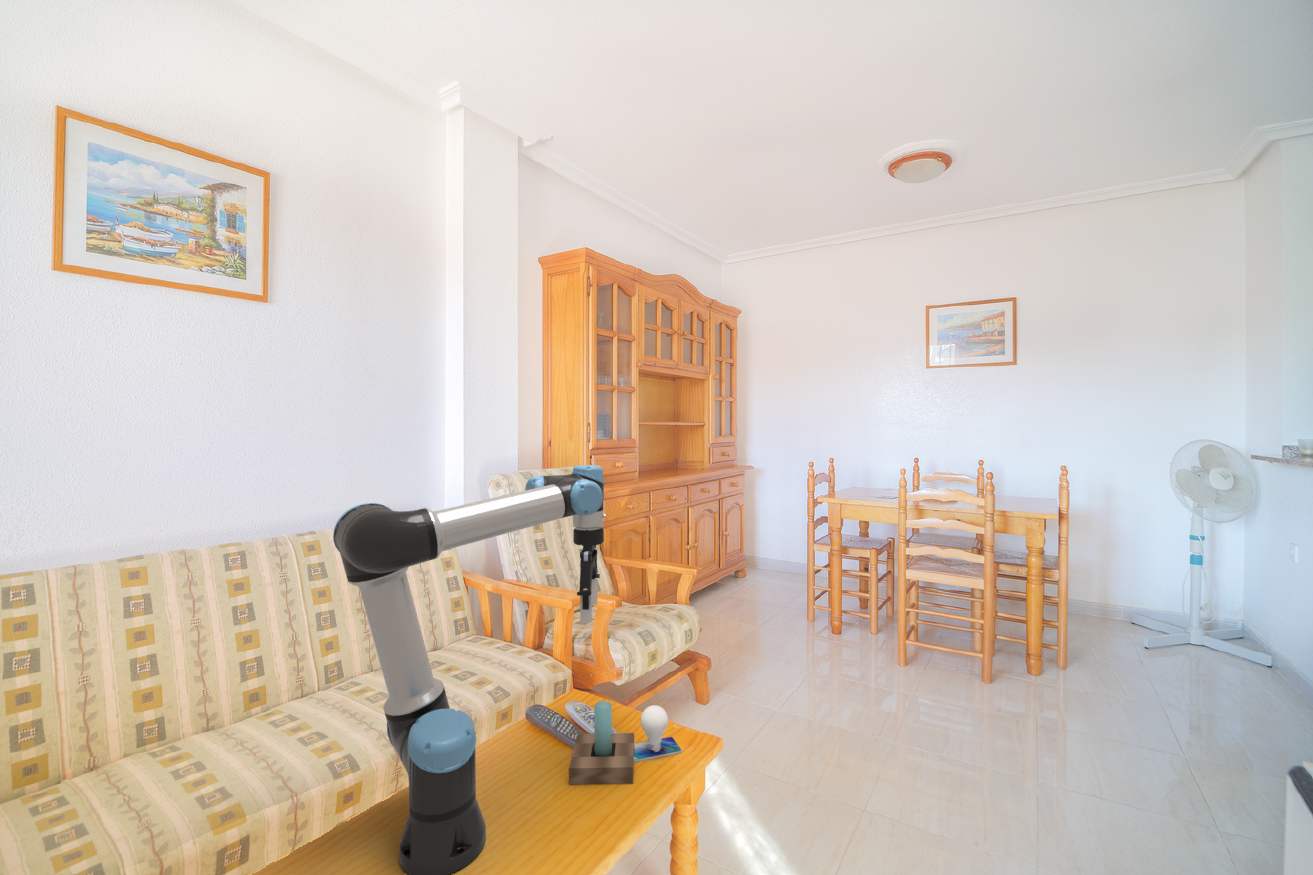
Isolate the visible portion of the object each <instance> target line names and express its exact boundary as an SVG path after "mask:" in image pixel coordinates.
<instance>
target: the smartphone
mask: <svg viewBox="0 0 1313 875" xmlns="http://www.w3.org/2000/svg"><path fill="white" fill-rule="evenodd" d="M660 744H661V749H660V751H658V752H656V753H654V752H651V751H650V750H649V742H648V740H646V741H642V742H636V743H635V742H634V764H636V763H640V762H644V761H650V760H654V759H659V758H663V757H668V756H674V755H679V754H681V753H682V748H681V747H680V745H679V744H678V743H677V741H676V740H675V738H674V737H673V736H667V737H663V738H662V740H661V743H660Z"/></svg>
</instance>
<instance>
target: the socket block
mask: <svg viewBox="0 0 1313 875" xmlns="http://www.w3.org/2000/svg"><path fill="white" fill-rule="evenodd" d="M634 744H635V733H634V732H619V733H618V732H615V733H614V732H612V756H606V757H595V733H577V734H576V737H575V741H574V746H573V750H572V753H571V754H572V755H571V759H570V763H569V768H568V770H569V772H568V777H569V778H568V782H569V783H568V785H615V784H616V785H617V784H618V785H620V784H621V785H623V784H634V764H635V763H634Z"/></svg>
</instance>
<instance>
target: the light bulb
mask: <svg viewBox="0 0 1313 875" xmlns="http://www.w3.org/2000/svg"><path fill="white" fill-rule="evenodd" d="M640 725H641V727H642V730H643V731H644V733H645V736H646V737H647V741H648V742H649V750H650V751H651V752H654V753H656V752H658V751H660V749H661V744H660V743H661V740H662V737H663V735H664V733H665V731H666V730H667V728H668V725H669V717H668V714H667V712H666V710H665V709H664V708H663V707H661V706H659V705H658V704H655V705H654V704H653V705H649V706H647V707H646V708H644V710H643V712H642V714H641V717H640Z"/></svg>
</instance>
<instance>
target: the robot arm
mask: <svg viewBox="0 0 1313 875" xmlns="http://www.w3.org/2000/svg"><path fill="white" fill-rule="evenodd" d="M604 481H605V480H604V471H603V467H602V466H601V465H598V464H597V465H596V464H595V465H593V464H585V465H584V464H583V465H581V464H580V465H574V466H573V468H572V472H571V474H570V473H569V474H559V475H558V474H557V475H556V474H555V475H538V476H533V477H530V478H528V480H527V481H526V485H525V488H524V490H523V491H517V492H513V493H509V494H505V495H500V496H495V497H491V498H488V499H482V500H478V501H474V502H471V503H465V504H462V505H458V506H457V505H456V506H453V507H449V508H444V509H440V510H436V511H433V510H431V509H430V508H427V507H424V508H419V509H415V510H407V511H405V510H403V511H402V510H401V511H399V510H392V508H390V507H389V506H387V505H384V504H383V503H377V502H373V503H372V502H371V503H370V502H369V503H368V502H367V503H360V504H357V505H354V506H352V507H351V508H348V509H347V510H346V511H345V512H344V513H343V514H341V516H339V518H338V520H337V521H336V523H335V526H334V529H333V532H332V533H333V535H332V536H333V537H332V538H333V544H334V547H335V549H337V551H338V552H339V555H340V557H341V561H342V564H343V568H344V572H345V575H346V579H347V582H348V583H349V584H351V585H353V586H356V587H358V588H359V591H360V595H361V598H362V599H361V600H362V603H363V606H364V609H365V610H364V611H365V614H366V617H367V621H368V624H369V629H370V632H371V635H372V639H373V642H374V647H375V650H376V653H377V658H378V660H379V664H380V669H381V672H382V675H383V679H384V683H385V687H386V690H387V693H388V697H387V699H386V700H385V702H384V703H383V712H384V715H385V719H386V729H387V730H386V733H387V737H388V741H389V742H390V745H391V746H392V747H393V748H394V750H395V752H396V753H397V755H398V757H399V759H400V762H401V763H402V765H403V767H404V769H405V771H406V773H407V777H408V798H409V799H408V805H409V808H408V810H409V811H408V812H409V813H408V816H407V820H406V822H405V825H404V830H403V832H402V836H401V837H400V842H399V846H398V849H399V850H398V855H399V856H398V857H399V858H398V859H399V860H398V862H399V865H400V867H401V870H403V871H404V872H405V873H406V874H407V875H452V874H453V873H455V872H457V871H460V870H462V869H464V868H465V867H466V866H468V865H470V863H472V862H473V861H474V860H475V859H476V858H477V857H478V856H479V855H480V853H481V852H482V851H483V848H484V847H485V844H486V840H487V839H486V836H487V835H486V834H487V833H486V832H487V831H486V822H485V819H484V816H483V814H482V810H481V808H480V805H479V803H478V800H477V796H476V787H477V786H476V784H477V783H476V781H477V778H476V767H477V766H476V745H477V736H476V735H477V734H476V730H475V729H476V728H475V723H474V720H473V719H472V717H471V716H470V715H469V714H468V713H466V712H465V711H463V710H460V709H458V710H456V709H454V708H450V704H449V701H448V697H447V692H446V689H445V685H444V682H443V681H442V680H440V679H438V678H435V677H434V675H433V671H432V667H431V664H430V660H429V656H428V653H427V647H426V644H425V641H424V638H423V633H422V630H421V629H422V628H421V625H420V622H419V617H418V614H417V611H416V606H415V602H414V599H413V595H412V594H413V593H412V591H411V588H410V583H409V579H408V576H407V571H408V569H409V568H410V567H412V566H415V565H419V564H421V563H426V562H430V561H432V560H435V559H438V558H439V557H440V555H441V553H442V552H443V551H448V550H451V549H455V548H458V547H462V546H466V545H470V544H472V543H476V542H480V541H484V540H488V539H491V538H494V537H498V536H502V535H506V534H510V533H512V532H517V531H520V530H524V529H528V528H531V527H534V526H538V525H542V524H546V523H549V522H552V521H556V520H560V519H565V518H568V517H572V526H573V527H574V529H573V532H572V533H573V534H572V535H573V537H572V538H573V541H572V542H573V543H574V545H575V546H582V549H581V551H580V552H579V558H580V564H579V566H580V569H579V571H580V573H579V591H577V592H576V596H577V597H580V598H579V602H580V603H579V606H580V608H579V612H580V616H579V617H580V618H579V619H580V620H579V621H580V622H579V623H582V624H583V623H585V624H586V623H588V624H589V623H593V606H597V605H598V579H600V578H601V576H600V575H601V574H600V573H599V571H598V570H599V569H598V549H597V546H598V545H602V544H604V542H605V534H604V533H605V529H604V528H603V526H604V525H605V524H604V518H607V515H606V513H604V505H605V504H604V501H605V500H604V498H605V497H604V485H605V482H604Z"/></svg>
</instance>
